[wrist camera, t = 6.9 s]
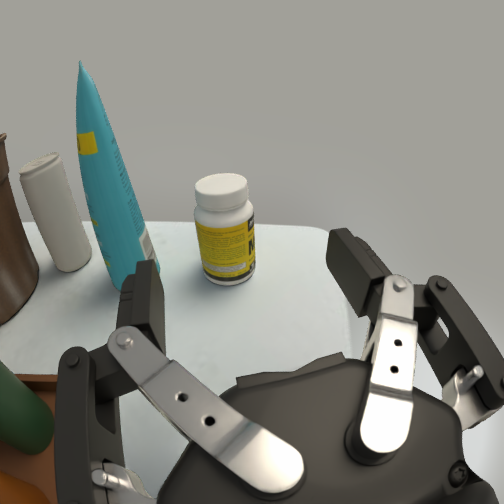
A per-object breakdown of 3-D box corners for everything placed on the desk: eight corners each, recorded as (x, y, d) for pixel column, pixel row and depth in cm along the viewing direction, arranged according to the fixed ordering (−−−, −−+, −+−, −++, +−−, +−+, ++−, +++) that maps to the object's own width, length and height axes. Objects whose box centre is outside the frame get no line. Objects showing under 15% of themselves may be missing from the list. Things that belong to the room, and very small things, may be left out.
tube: (106, 265, 27) (54, 77, 15) (147, 247, 29) (109, 61, 17) (124, 311, 22) (49, 70, 10) (174, 289, 24) (127, 48, 13)
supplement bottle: (261, 282, 25) (259, 192, 20) (206, 291, 24) (190, 202, 19) (249, 249, 28) (245, 167, 23) (201, 256, 28) (188, 175, 23)
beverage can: (71, 280, 25) (26, 174, 18) (51, 267, 27) (11, 172, 20) (101, 253, 29) (67, 150, 21) (79, 243, 31) (47, 152, 23)
